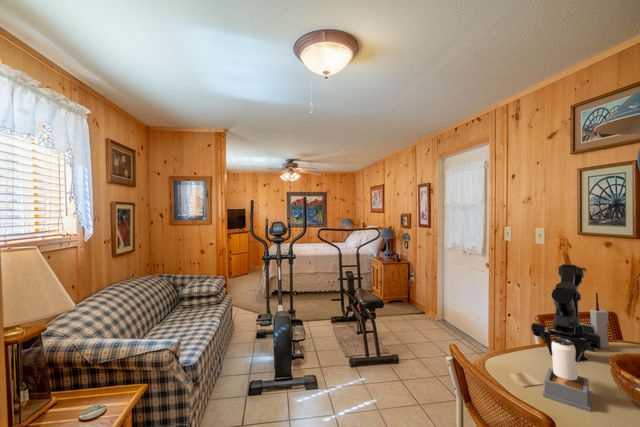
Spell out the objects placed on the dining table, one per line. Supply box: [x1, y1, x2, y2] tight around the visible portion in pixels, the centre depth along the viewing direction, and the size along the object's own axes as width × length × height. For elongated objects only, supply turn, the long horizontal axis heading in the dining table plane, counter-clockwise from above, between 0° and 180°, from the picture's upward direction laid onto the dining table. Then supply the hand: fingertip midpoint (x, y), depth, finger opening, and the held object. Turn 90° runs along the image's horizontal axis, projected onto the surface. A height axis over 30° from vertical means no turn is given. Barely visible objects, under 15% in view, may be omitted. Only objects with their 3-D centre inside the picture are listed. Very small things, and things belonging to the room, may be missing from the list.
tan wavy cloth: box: [506, 371, 544, 388], centre depth 109 cm, size 8×8×1 cm
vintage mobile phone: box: [589, 292, 611, 349], centre depth 133 cm, size 4×5×25 cm
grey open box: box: [542, 367, 592, 412], centre depth 99 cm, size 12×12×6 cm
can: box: [551, 337, 578, 381], centre depth 100 cm, size 6×6×12 cm
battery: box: [579, 321, 597, 352], centre depth 132 cm, size 7×4×11 cm, turn 38°
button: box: [552, 376, 583, 390], centre depth 99 cm, size 8×8×2 cm
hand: (563, 358), depth 99 cm, fingers closed on can, 6 cm apart
